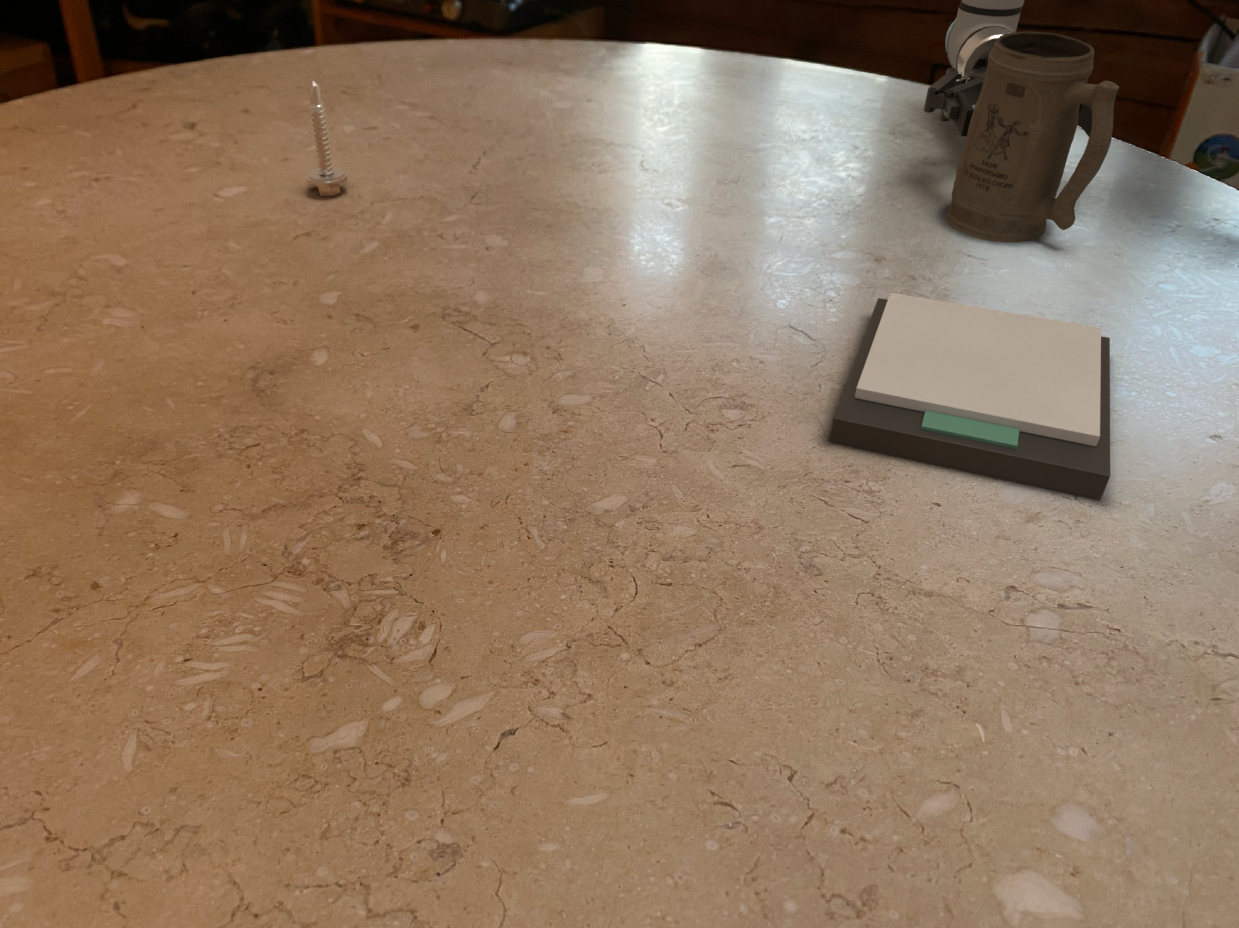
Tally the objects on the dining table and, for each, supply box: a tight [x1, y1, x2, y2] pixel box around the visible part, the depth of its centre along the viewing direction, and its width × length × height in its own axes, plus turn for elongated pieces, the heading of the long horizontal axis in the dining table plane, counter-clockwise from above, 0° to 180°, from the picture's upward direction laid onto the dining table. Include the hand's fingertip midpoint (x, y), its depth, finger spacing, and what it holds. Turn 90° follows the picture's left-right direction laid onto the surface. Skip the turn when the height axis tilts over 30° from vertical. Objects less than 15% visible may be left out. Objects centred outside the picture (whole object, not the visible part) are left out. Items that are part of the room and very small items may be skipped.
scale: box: [828, 292, 1111, 501], centre depth 87 cm, size 20×22×4 cm
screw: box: [305, 80, 349, 198], centre depth 121 cm, size 13×5×5 cm
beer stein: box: [944, 31, 1120, 243], centre depth 109 cm, size 15×11×20 cm
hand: (1033, 126), depth 111 cm, fingers open, 13 cm apart
